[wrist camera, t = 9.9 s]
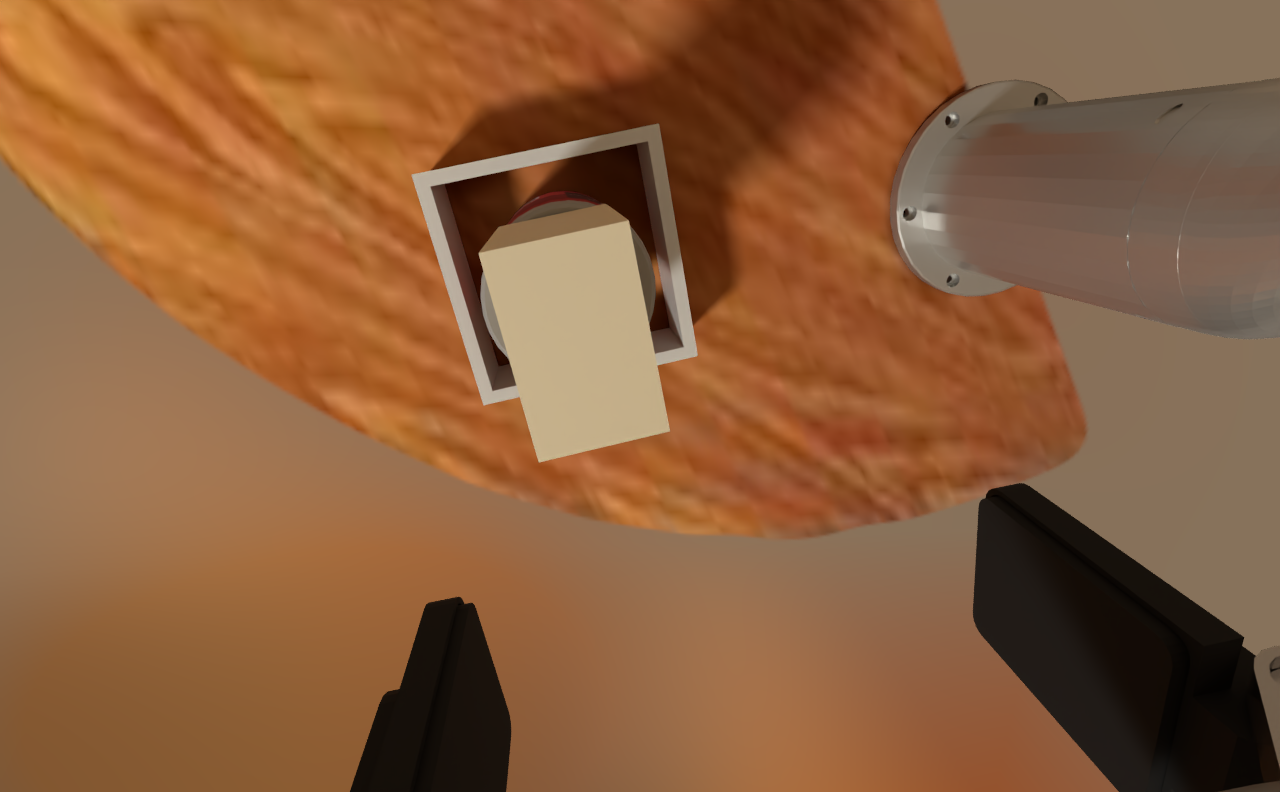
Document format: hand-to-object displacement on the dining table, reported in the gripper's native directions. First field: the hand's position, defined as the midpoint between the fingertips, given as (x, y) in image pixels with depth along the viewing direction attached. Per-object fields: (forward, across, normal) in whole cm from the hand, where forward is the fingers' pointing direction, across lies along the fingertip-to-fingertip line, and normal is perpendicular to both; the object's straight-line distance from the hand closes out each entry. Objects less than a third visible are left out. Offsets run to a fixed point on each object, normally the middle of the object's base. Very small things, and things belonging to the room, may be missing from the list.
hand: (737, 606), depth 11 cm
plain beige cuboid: (+18, +2, -2) cm, 18 cm away
